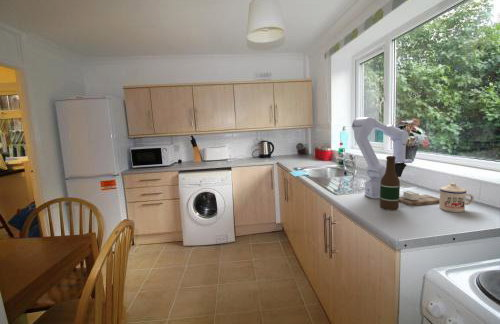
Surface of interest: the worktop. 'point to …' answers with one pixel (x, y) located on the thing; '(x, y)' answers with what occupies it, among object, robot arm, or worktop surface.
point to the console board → (420, 200)
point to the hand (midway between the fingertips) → (398, 176)
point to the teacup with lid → (453, 198)
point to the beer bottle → (390, 187)
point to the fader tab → (411, 195)
